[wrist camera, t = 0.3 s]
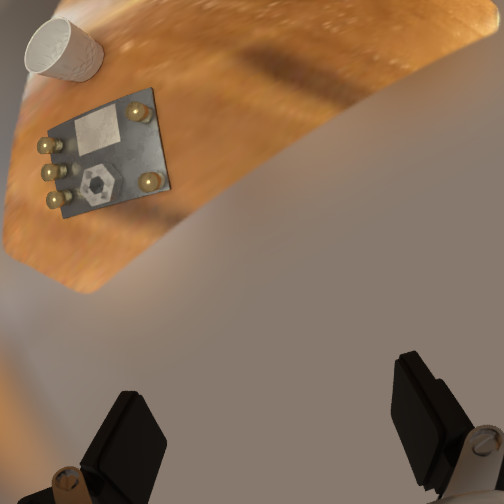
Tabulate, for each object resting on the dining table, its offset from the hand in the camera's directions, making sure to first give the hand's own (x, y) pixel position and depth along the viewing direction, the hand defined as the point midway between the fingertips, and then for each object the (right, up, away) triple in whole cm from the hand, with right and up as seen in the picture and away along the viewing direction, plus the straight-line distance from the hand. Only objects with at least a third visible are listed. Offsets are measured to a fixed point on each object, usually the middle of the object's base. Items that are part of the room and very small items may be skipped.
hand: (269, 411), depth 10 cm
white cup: (-25, +33, +23) cm, 48 cm away
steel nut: (-20, +15, +27) cm, 37 cm away
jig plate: (-21, +19, +27) cm, 39 cm away
